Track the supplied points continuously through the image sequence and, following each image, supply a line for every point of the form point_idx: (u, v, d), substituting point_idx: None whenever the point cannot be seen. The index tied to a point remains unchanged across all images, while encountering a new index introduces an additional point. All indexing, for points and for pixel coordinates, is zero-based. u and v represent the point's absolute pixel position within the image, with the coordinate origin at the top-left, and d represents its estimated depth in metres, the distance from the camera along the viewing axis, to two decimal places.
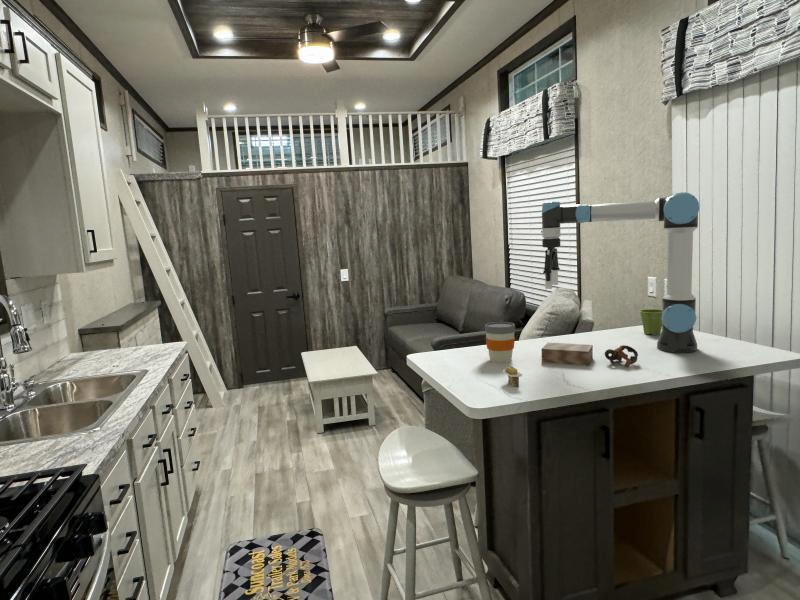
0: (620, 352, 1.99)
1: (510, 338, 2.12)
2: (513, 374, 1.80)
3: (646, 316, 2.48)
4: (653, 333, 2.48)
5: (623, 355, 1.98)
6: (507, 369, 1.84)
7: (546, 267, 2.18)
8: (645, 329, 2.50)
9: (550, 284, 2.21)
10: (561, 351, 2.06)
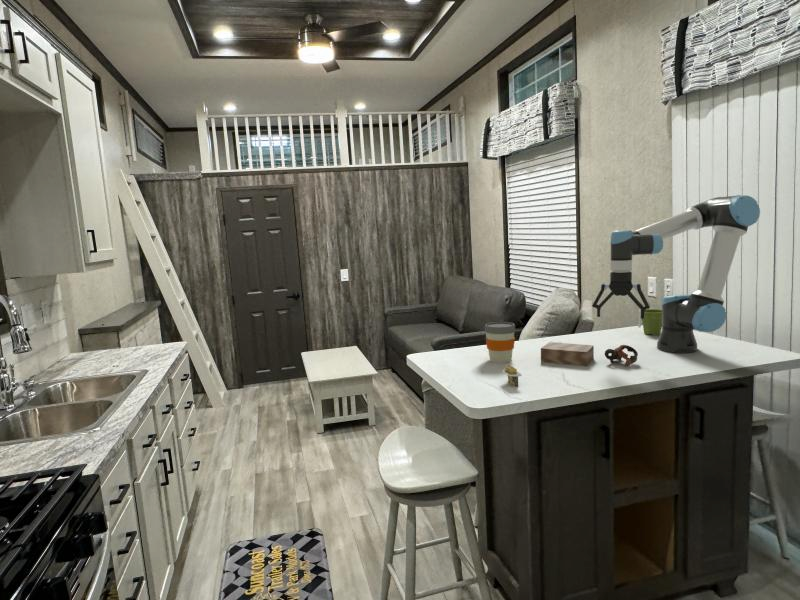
0: (620, 352, 2.00)
1: (510, 338, 2.12)
2: (512, 374, 1.80)
3: (646, 316, 2.48)
4: (653, 333, 2.48)
5: (623, 355, 1.99)
6: (507, 369, 1.85)
7: (594, 302, 2.04)
8: (645, 329, 2.50)
9: (600, 321, 2.03)
10: (560, 351, 2.07)
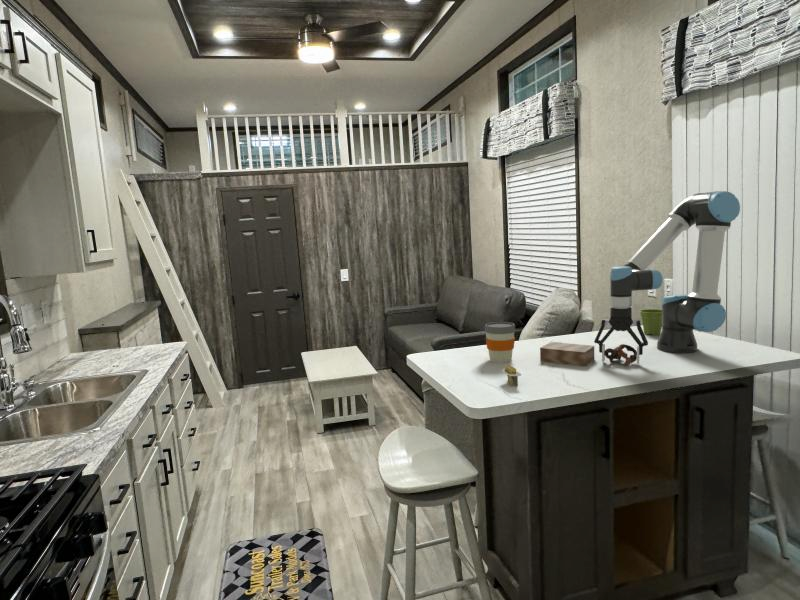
0: (620, 351, 2.00)
1: (510, 338, 2.12)
2: (512, 373, 1.81)
3: (646, 316, 2.48)
4: (653, 333, 2.48)
5: (623, 354, 1.99)
6: (506, 368, 1.85)
7: None
8: (645, 329, 2.50)
9: (602, 356, 2.04)
10: (559, 351, 2.07)
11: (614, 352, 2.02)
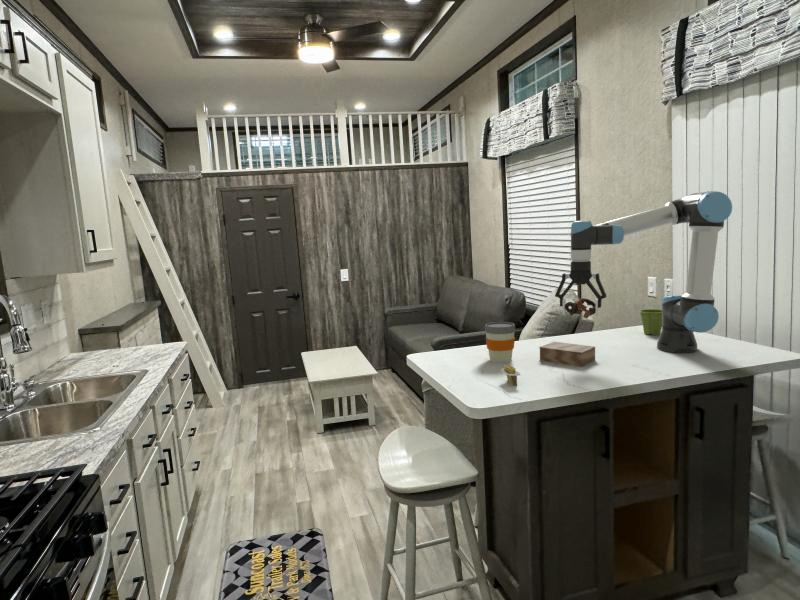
0: (579, 304, 2.04)
1: (510, 338, 2.12)
2: (511, 373, 1.81)
3: (646, 316, 2.48)
4: (653, 333, 2.48)
5: (582, 307, 2.03)
6: (506, 368, 1.86)
7: None
8: (645, 329, 2.50)
9: None
10: (557, 350, 2.07)
11: (574, 305, 2.06)
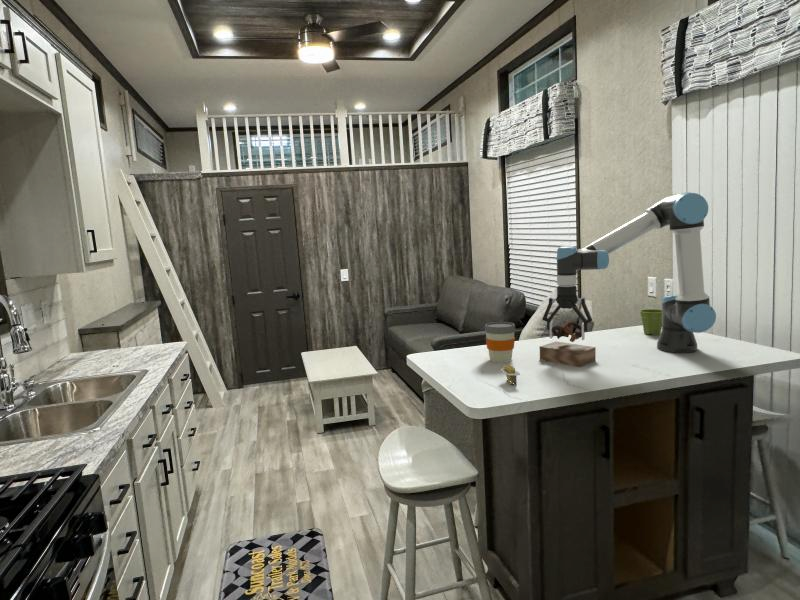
0: (566, 328, 2.08)
1: (510, 338, 2.12)
2: (511, 373, 1.81)
3: (646, 316, 2.48)
4: (653, 333, 2.48)
5: (568, 331, 2.07)
6: (505, 368, 1.86)
7: (544, 315, 2.13)
8: (645, 329, 2.50)
9: None
10: (556, 350, 2.08)
11: (561, 329, 2.09)
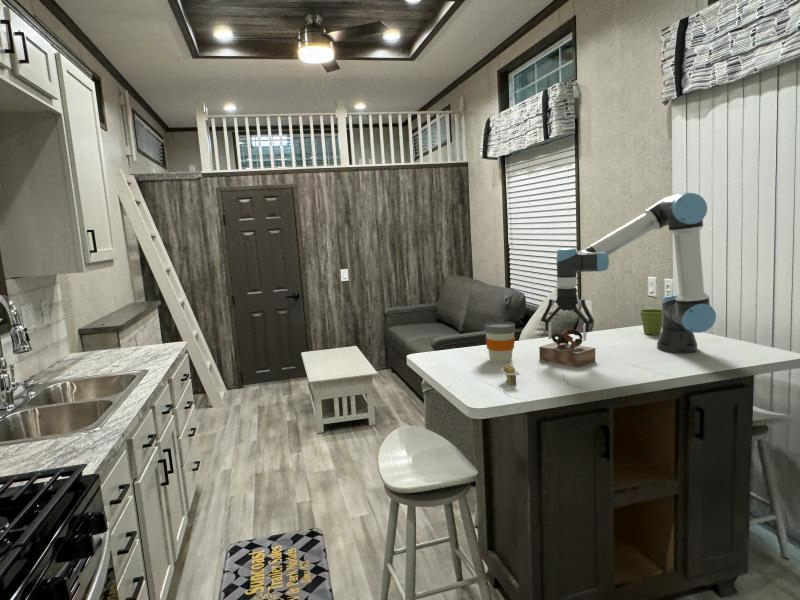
0: (566, 335, 2.08)
1: (510, 338, 2.12)
2: (510, 372, 1.82)
3: (646, 316, 2.48)
4: (653, 333, 2.48)
5: (568, 338, 2.07)
6: (505, 368, 1.86)
7: (543, 316, 2.14)
8: (645, 329, 2.50)
9: None
10: (555, 351, 2.08)
11: (560, 336, 2.09)
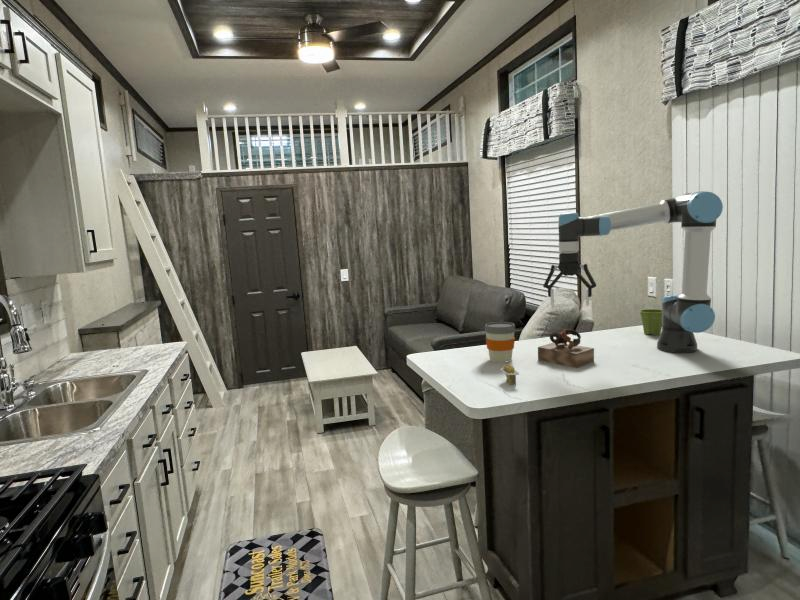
0: (564, 335, 2.08)
1: (510, 338, 2.12)
2: (510, 372, 1.82)
3: (646, 316, 2.48)
4: (653, 333, 2.48)
5: (566, 338, 2.06)
6: (505, 367, 1.86)
7: (545, 282, 2.13)
8: (645, 329, 2.50)
9: None
10: (554, 351, 2.07)
11: (559, 336, 2.09)
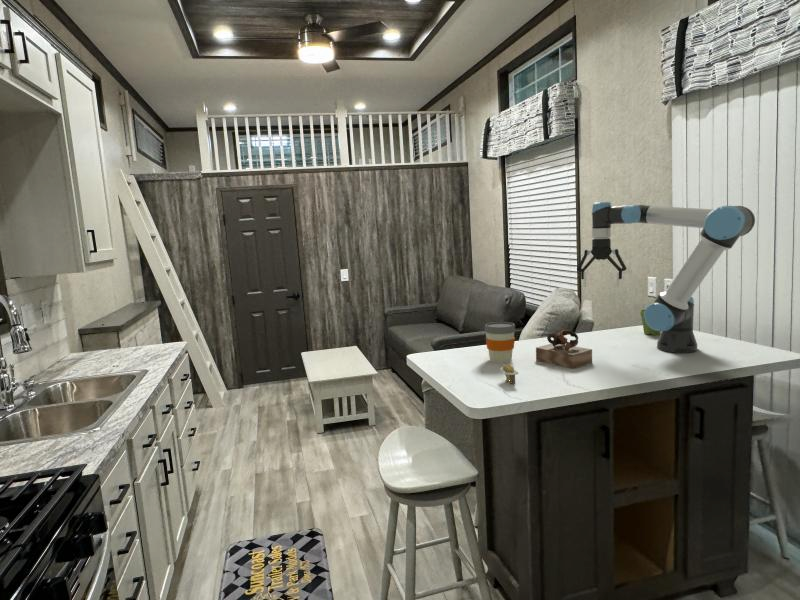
0: (560, 336, 2.06)
1: (510, 338, 2.12)
2: (509, 372, 1.82)
3: None
4: (653, 333, 2.48)
5: (563, 339, 2.05)
6: (504, 367, 1.87)
7: (578, 266, 2.32)
8: (645, 329, 2.50)
9: None
10: (551, 352, 2.07)
11: (556, 337, 2.08)
